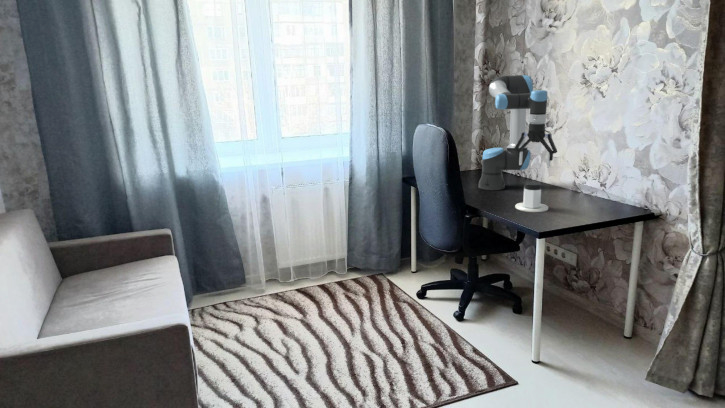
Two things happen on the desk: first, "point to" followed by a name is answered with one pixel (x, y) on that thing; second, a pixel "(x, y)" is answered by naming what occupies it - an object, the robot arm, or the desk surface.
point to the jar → (532, 195)
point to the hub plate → (522, 208)
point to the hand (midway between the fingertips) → (534, 165)
